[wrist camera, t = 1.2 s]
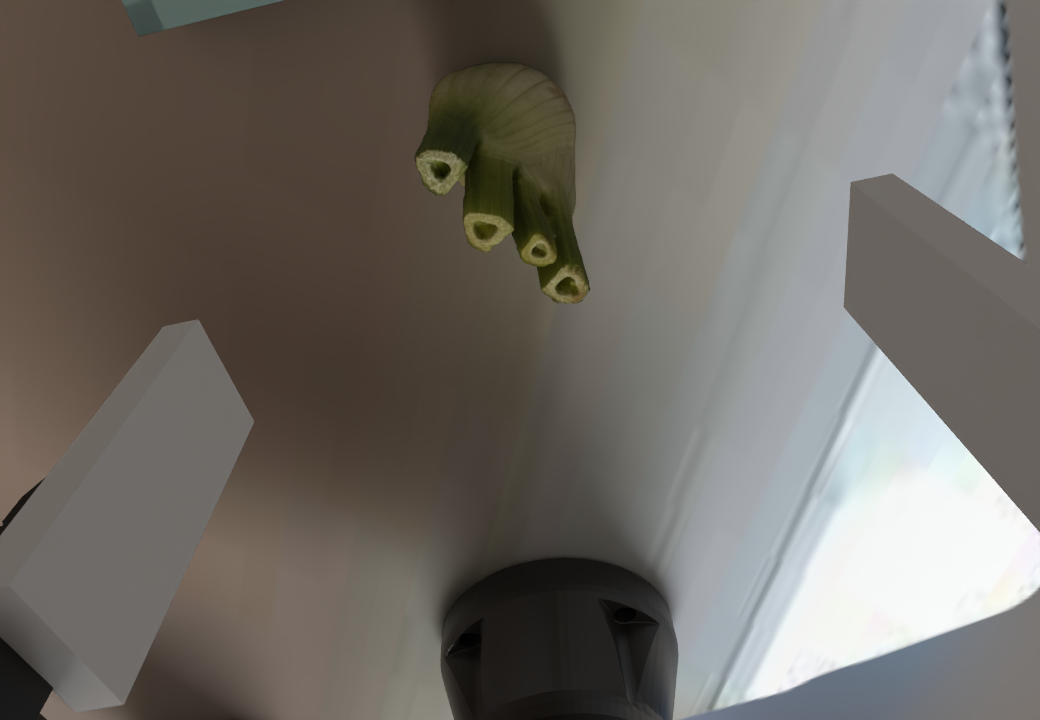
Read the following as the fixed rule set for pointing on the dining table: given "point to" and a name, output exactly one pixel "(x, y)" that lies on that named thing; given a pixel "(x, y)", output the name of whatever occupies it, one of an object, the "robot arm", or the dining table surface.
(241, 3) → the tray
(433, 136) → the fennel bulb
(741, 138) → the dining table surface
